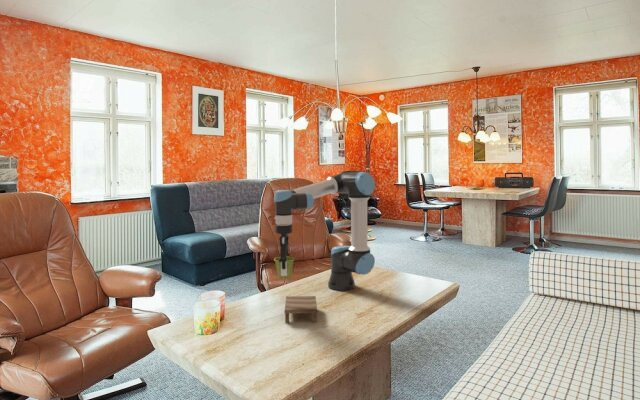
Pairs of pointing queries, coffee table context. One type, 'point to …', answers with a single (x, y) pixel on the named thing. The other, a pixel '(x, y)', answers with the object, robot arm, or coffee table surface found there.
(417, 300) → the coffee table surface
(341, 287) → the robot arm
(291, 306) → the walnut plant stand
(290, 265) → the plant pot
